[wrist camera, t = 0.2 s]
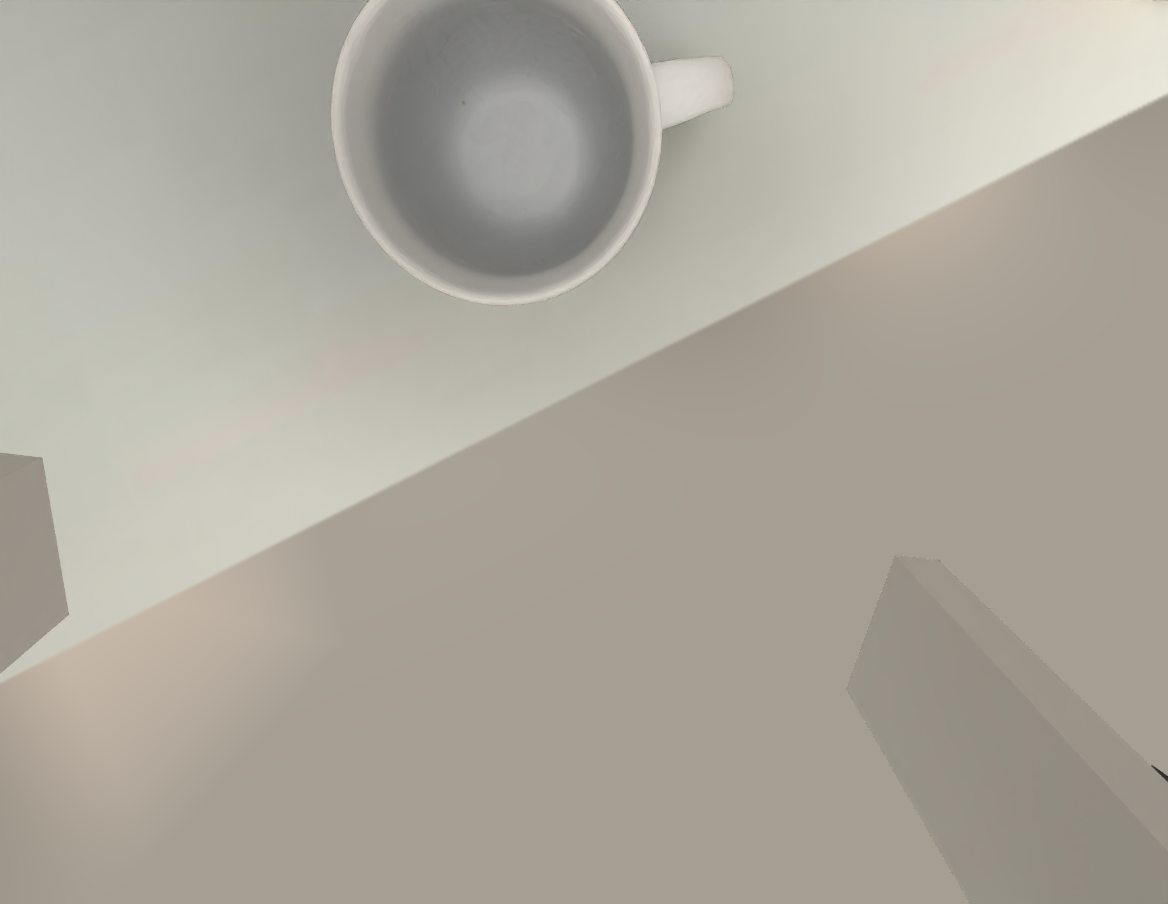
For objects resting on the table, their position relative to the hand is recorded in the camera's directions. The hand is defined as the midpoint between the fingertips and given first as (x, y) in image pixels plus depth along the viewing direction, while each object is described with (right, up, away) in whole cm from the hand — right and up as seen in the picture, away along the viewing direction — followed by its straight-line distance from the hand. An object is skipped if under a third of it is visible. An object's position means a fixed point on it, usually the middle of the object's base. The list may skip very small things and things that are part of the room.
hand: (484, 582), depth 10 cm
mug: (-1, +17, +23) cm, 29 cm away
